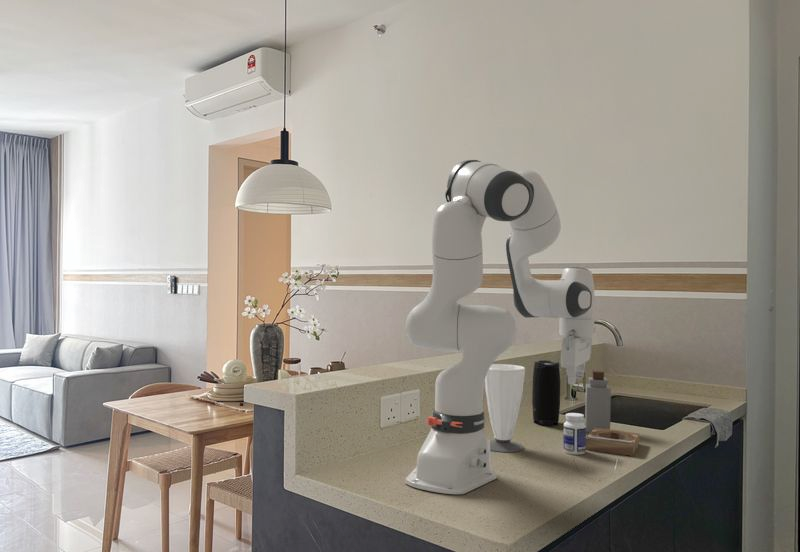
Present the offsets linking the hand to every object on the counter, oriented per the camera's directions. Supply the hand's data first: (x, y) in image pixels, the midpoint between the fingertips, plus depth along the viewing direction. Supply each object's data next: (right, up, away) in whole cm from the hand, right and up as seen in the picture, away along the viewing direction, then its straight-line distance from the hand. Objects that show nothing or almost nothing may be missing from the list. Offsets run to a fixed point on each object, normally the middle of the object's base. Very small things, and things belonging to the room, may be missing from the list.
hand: (575, 381), depth 159 cm
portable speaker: (0, -19, +32) cm, 38 cm away
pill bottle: (0, -19, 0) cm, 19 cm away
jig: (+12, -19, +6) cm, 23 cm away
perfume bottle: (+14, -19, +24) cm, 34 cm away
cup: (-19, -19, +4) cm, 27 cm away
